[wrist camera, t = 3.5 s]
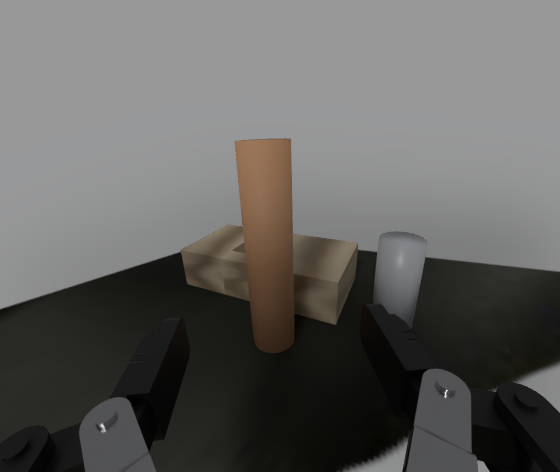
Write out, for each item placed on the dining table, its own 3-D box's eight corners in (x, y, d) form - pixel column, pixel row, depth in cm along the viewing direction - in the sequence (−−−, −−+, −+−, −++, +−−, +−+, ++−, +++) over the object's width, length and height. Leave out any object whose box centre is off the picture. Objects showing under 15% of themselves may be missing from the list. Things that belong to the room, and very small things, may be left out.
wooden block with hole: (187, 284, 35) (180, 249, 33) (231, 253, 44) (228, 224, 42) (335, 324, 27) (338, 282, 25) (355, 277, 35) (358, 242, 33)
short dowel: (367, 327, 27) (376, 245, 23) (373, 304, 30) (381, 229, 26) (412, 338, 25) (428, 252, 21) (412, 313, 28) (426, 234, 25)
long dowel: (245, 345, 25) (222, 142, 18) (265, 318, 28) (253, 139, 21) (284, 359, 23) (275, 141, 16) (300, 329, 27) (299, 138, 20)
